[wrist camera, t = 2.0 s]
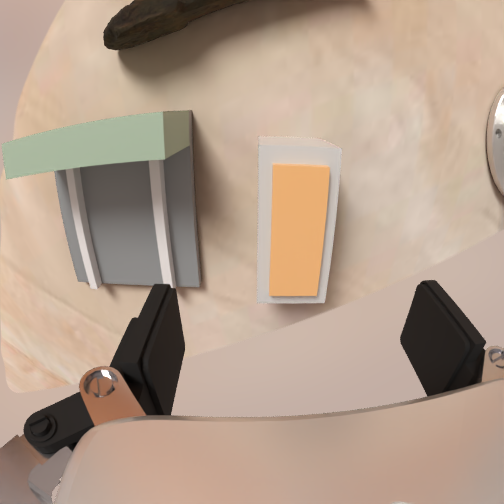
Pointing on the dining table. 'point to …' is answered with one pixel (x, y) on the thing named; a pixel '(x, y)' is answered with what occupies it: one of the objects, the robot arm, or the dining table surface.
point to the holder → (296, 217)
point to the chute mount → (121, 196)
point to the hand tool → (155, 19)
